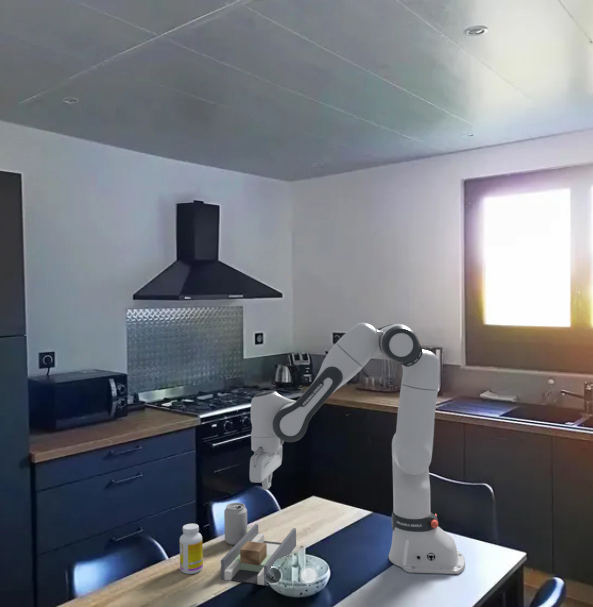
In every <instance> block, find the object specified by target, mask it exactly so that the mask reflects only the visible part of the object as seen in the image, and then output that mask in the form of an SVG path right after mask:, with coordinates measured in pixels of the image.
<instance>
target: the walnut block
mask: <svg viewBox="0 0 593 607" xmlns="http://www.w3.org/2000/svg"><path fill="white" fill-rule="evenodd" d="M266 557H267V543H259V542H251V541H248V542H247V543H246V544H245V545H244V546H243V547H242V548H241V549H240V563H245V564H253V565H260V564H261V563H262V562H263V561H264V559H265V558H266Z"/></svg>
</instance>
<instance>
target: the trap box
mask: <svg viewBox="0 0 593 607" xmlns="http://www.w3.org/2000/svg"><path fill="white" fill-rule="evenodd" d="M248 541H251V542H259V543H267V557H266V558H265V559H264V561H263V562H262V563H261V564H260V565H253V564H245V563H240V549H241V548H242V547H243V546H244V545H245V544H246V543H247V542H248ZM296 546H297V528H295V527H292V529H291V530H290V531H289V533H288V534H287V535H286V537H285V538H284V539H283V541H282V542H280V541H279V542H277V541H268V540H265V533H259V524H258V523H257V524H256V523H255V524H254V525H253V526H252V527H251V528H250V529H249V530H247V533H246V535H245V536H244V537H243V538H242V539H241V540H240V541H239V542H238V543H237V544H236V545H233V547H232V548H231V549H230V550H229V551H228V552H227V553H226V554H225V556H223V557H222V558H221V560H220V579H221V580H223V579H224V580H223V581H230V582H231V581H232V582H238V583H244V584H254V585H260V586H261V585H262V586H267V587H268V586H269V584H267V583H266V581H265V575H266V574H268V571H269V569H270V568H271V566H273V564H274V562H275V561H276V560H277V559H279V558H281V557H284V556H287V555H289V554H290V553H292V552H293V550H294V549H295V548H296ZM290 555H291V554H290ZM290 555H289V556H290Z"/></svg>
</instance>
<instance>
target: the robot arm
mask: <svg viewBox="0 0 593 607" xmlns="http://www.w3.org/2000/svg"><path fill="white" fill-rule="evenodd" d="M378 355H383V356H385V357H386V358H387V359H388V360H390V361H392V362H394V363H397V364H399V365H401V367H402V377H401V383H400V391H399V397H398V398H399V399H398V404H397V405H398V407H397V416H396V428H395V429H396V430H395V433H394V435H393V437H392V440H391V456H392V457H391V458H392V459H391V460H392V461H391V462H392V491H393V492H392V494H393V495H392V496H393V497H392V498H393V502H392V503H393V510H392V512H391V529H392V537H391V538H392V539H391V546H390V550H389V553H388V559H389V561H390V562H391V563H392V564H394V565H396V566H397V567H399V568H401V569H402V570H404V572H406V573H412V574H413V573H415V574H416V573H417V574H446V575H447V574H448V575H458V574H460V573H462V572H463V571H464V570H465V567H466V559H465V556H464V555H463V554H462V553H461V552H460V551H458V550H457V545H456V544H457V543H456V542H455V539H454V538H453V537H452V536H451V535H450V534H448V533H447V532H446V531H444V530H443V529H442V528H441V527H440V526H439V521H438V517H437V516H438V515H437V513H435V514H434V513H433V512H431V484H430V470H429V466H430V465H431V462H432V457H433V447H434V435H435V433H434V432H435V416H436V407H437V401H438V393H439V387H440V386H439V384H440V361H439V358H438V356H437V354H435V353H434V352H432V351H430V350H428V349H423V348H422V345H421V343H420V340H419V339H418V336H417V334H416V333H415V331H414V330H413V329H411V328H410V327H408V326H407V325H405V324H402V323H393V324H392V323H391V324H388V325H385V326H382V327H380V328H375V327H374V326H373V325H372V324H369V323H367V322H358V323H356V324H355V325H354V326H352V327H351V329H349V330H348V331H347V332H345V333H344V334H343V335H342V336H341V337H340V338H339V339H338V340H337V342H335V343H334V345H333V346H332V347H331V348H330V350H329V351H328V352H327V354H326V356H325V358H324V359H323V361H322V364H321V367H320V369H319V371H318V373H317V374H316V377H315V379H314V380H313V382H312V383H311V384H310V385H309V387H308V388H307V389H306V390H305V391H304V392H303V393H302V395H301V396H300V397H299V398H298V399H297V400H294V399H290V398H288V397H286V396H284V395H281V394H279V393H278V391H276V390H273V389H272V390H265V391H260V392H258V393H256V394H255V395H253V397H252V398H251V402H250V423H251V432H250V442H251V444H250V445H251V451H253V452H254V453H253V454H252V456H251V457H250V459H249V481H250V483H255V484H256V483H261V485H262V488H261V489H262V490H264V491H267V490H269V489H270V487H271V486H272V478H273V472H274V471H275V470H277V469H278V468H279V467H280V466H281V465H282V461H283V444H284V442H285V443H295V442H297V441H300V440H301V439H303V437H304V436H305V434H306V433H307V430H308V427H309V423H310V421H311V419H312V417H313V416H314V415H315V414H316V413H317V411H318V410H319V409H320V408H321V407H322V406H323V405H324V404H325V403H326V401H327V400H328V399H329V398H330V397H331V395H333V393H335V392H336V391H337V390H338V389H340V388H341V387H342V386H344V385H345V384H346V383H348V382H349V381H350V380H351V379H353V378H354V377H355V376H357V374H358V373H360V371H361V370H362V369H363V368H364V367H365V366H366V365H367V364H368V362H369V361H370V360H371V359H373V358H374V357H375V356H378Z"/></svg>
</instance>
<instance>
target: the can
mask: <svg viewBox="0 0 593 607" xmlns="http://www.w3.org/2000/svg"><path fill="white" fill-rule="evenodd" d="M223 512H224V514H223V516H224V518H223V519H224V541H225V542H226V543H227V545H229V546H230V545H231V546H235V545H236V544H237V543H238V542H239V541H240V540H241V539H242V538H243V537H244V536H245V535H246V533H247V532H248V509H247V508H246V505H245V504H244V503H242V502H231V503H228V504H227V505H226V506H225V509H224V510H223Z"/></svg>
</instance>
